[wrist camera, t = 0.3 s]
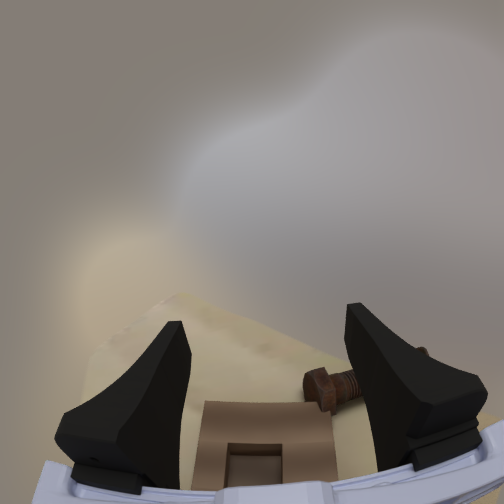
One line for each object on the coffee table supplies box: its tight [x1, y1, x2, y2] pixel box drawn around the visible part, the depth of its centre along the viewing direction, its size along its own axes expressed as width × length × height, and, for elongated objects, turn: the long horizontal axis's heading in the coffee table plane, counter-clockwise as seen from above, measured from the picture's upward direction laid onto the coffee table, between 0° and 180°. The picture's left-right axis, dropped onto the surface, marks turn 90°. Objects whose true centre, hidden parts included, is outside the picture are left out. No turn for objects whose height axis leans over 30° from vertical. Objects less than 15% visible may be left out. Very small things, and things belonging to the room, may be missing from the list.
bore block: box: [191, 401, 338, 491], centre depth 23 cm, size 14×12×4 cm
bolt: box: [303, 347, 429, 416], centre depth 31 cm, size 6×5×15 cm
